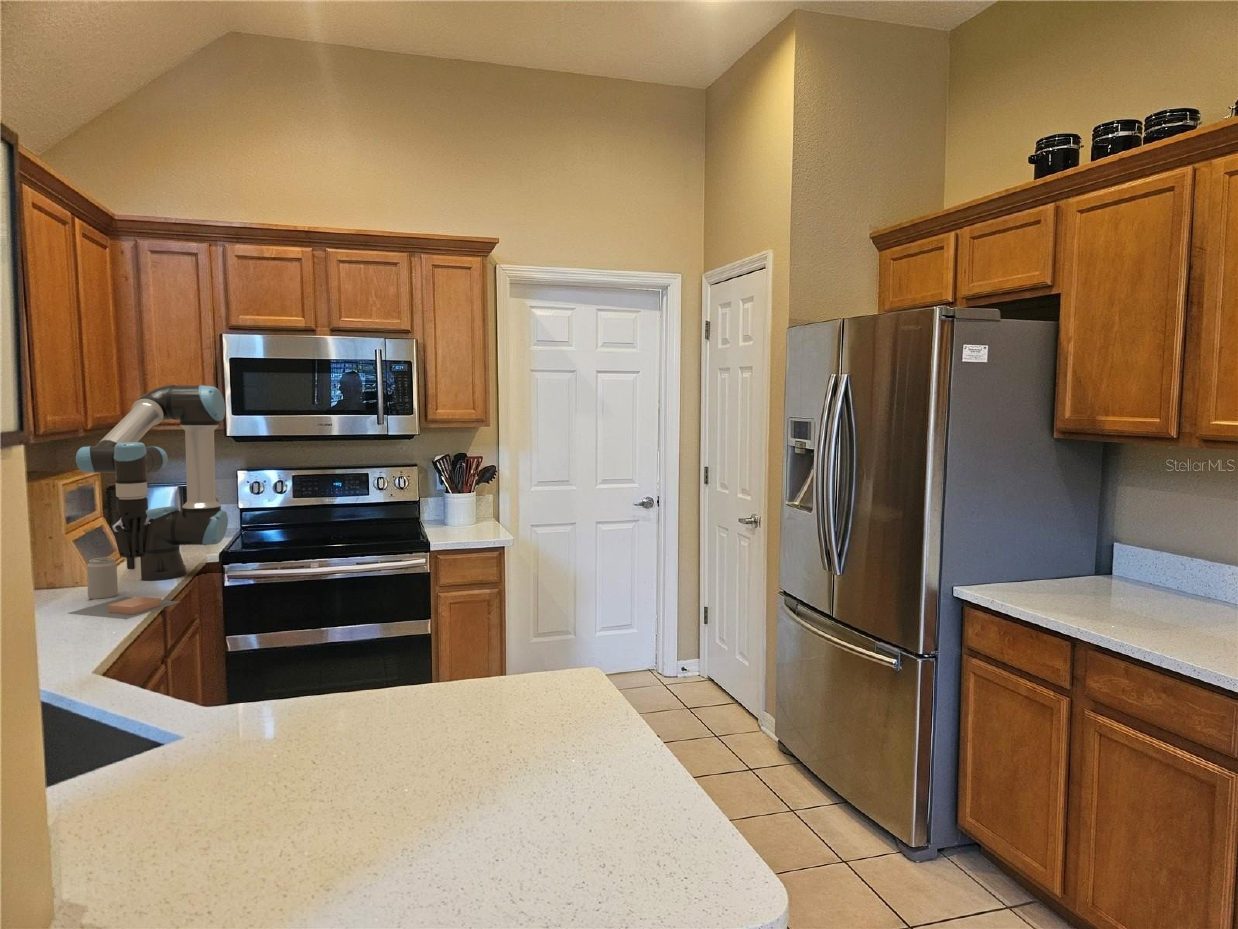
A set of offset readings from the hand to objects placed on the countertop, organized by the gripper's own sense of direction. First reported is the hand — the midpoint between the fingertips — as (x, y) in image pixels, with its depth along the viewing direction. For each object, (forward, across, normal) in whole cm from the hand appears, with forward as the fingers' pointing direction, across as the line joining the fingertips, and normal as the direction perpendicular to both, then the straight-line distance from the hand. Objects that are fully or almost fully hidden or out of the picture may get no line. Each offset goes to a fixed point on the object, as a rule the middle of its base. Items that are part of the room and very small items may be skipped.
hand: (135, 579), depth 220 cm
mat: (+9, 0, -4) cm, 10 cm away
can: (+9, -9, -21) cm, 25 cm away
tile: (+7, -4, 0) cm, 9 cm away
